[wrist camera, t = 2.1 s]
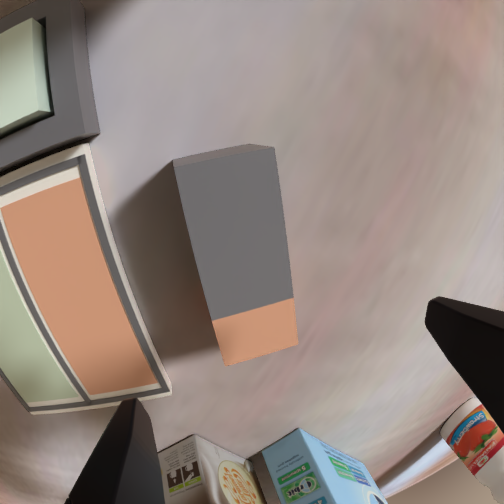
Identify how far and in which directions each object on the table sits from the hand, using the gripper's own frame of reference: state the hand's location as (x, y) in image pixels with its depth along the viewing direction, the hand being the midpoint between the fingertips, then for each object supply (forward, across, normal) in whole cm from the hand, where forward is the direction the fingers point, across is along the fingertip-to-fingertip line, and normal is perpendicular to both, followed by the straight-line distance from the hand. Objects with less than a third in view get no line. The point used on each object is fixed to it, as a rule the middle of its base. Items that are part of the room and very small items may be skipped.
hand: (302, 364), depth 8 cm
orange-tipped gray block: (+10, 0, 0) cm, 10 cm away
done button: (+9, +9, -11) cm, 17 cm away
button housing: (+10, +9, -11) cm, 17 cm away
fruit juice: (+10, -33, +42) cm, 55 cm away
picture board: (+10, +12, +1) cm, 16 cm away
